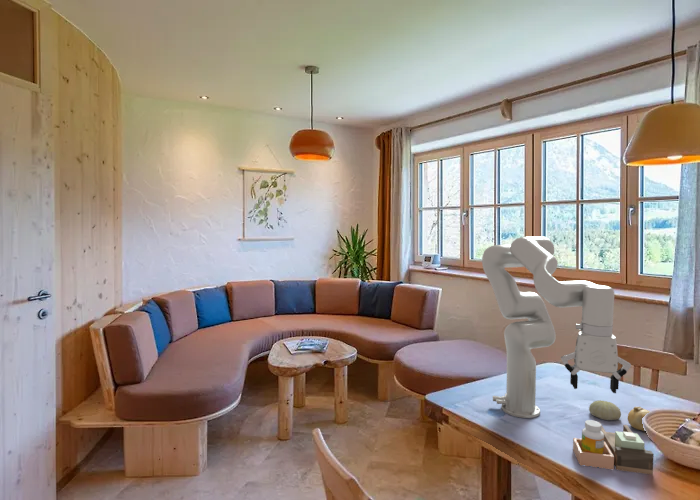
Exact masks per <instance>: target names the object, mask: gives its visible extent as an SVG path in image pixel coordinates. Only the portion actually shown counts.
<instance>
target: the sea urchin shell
mask: <svg viewBox="0 0 700 500" xmlns="http://www.w3.org/2000/svg"><path fill="white" fill-rule="evenodd" d="M588 411H589V413H590V415H592V416H594V417H595V418H598V419H600V420H604V421H617V420H619V419H621V416H622V412H621V409H620V407H618V406H617V404H615V403H613V402H611V401H606V400H601V399H600V400H594V401H593V402H591V403H590V404H589V407H588Z"/></svg>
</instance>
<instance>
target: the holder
mask: <svg viewBox="0 0 700 500" xmlns="http://www.w3.org/2000/svg"><path fill="white" fill-rule="evenodd" d="M572 441H573V442H572V443H573V444H572V451H573V453H574V456H575V458H576V460H577V462H578V465H579V464H580V465H579V466H582V465H585V467H589V466H592V467H591V468H597V467H599V468H598V469H604V468H605V469H606V470H612V471H614V470H615V466H614V456H613V454H612V452H611V451H610V449H609V447H608V446H607V444H606V442H604V454H597V453H589V452H582V451H581V449H582V438H577V437H573V439H572Z"/></svg>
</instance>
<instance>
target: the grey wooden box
mask: <svg viewBox="0 0 700 500" xmlns="http://www.w3.org/2000/svg"><path fill="white" fill-rule="evenodd" d="M598 422H599V423H600V424H601V425H602V423H601V421H598ZM601 431H602V432H603V434H604V442H606V444H607V446H608V447H609V449H610V451H611V452H612V454H613V456H614V469H616V471H622V472H629V473H638V474H645V475H651V476H652V475H654V453H653V451H652V450H647V449H646V448H645V447H644V450H639V449H631V448H623V447H615V432H611V431H606V429H605V428H604V426H603V425H602V429H601ZM622 432H631V433H634V432H633V431H632V430H631V429H630V427H629V426H628V425H627V424H623V426H622Z"/></svg>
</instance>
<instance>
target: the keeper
mask: <svg viewBox="0 0 700 500" xmlns="http://www.w3.org/2000/svg"><path fill="white" fill-rule="evenodd" d="M614 433H615V447H623V448H631V449H639V450H644V448H645V446H646V445H645V442H644V440H643V439H642V438H641V436H640V435H639V434H638V433H635V432H633V433H631V432H623V431H616V430H615V431H614Z"/></svg>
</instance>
